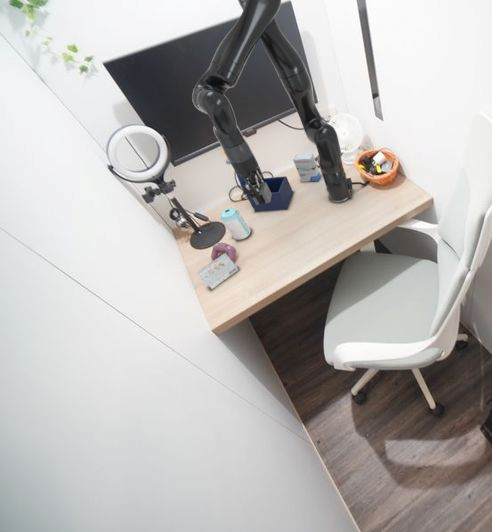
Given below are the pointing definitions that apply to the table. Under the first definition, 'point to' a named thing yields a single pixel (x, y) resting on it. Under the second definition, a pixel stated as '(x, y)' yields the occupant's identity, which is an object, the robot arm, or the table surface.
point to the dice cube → (264, 193)
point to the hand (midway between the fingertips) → (263, 198)
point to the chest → (275, 195)
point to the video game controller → (223, 251)
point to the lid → (241, 179)
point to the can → (235, 223)
